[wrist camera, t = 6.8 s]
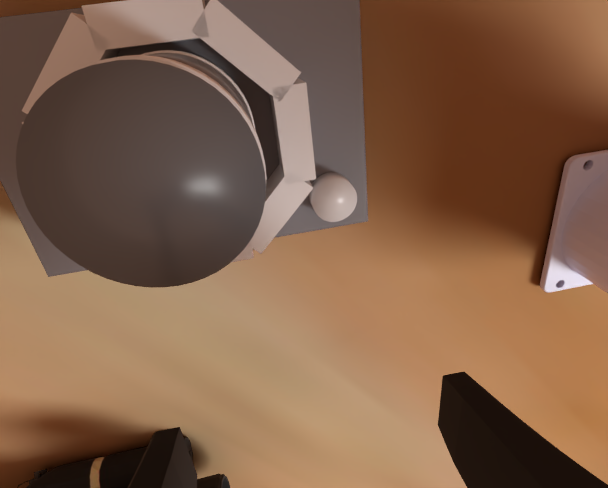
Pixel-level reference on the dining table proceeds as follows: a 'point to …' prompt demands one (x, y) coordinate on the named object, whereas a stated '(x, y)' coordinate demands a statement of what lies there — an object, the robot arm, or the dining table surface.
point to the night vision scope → (108, 473)
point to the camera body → (246, 74)
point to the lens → (144, 168)
